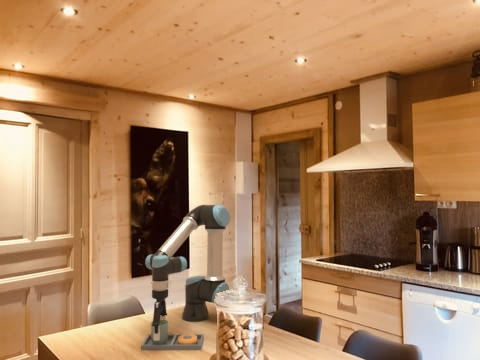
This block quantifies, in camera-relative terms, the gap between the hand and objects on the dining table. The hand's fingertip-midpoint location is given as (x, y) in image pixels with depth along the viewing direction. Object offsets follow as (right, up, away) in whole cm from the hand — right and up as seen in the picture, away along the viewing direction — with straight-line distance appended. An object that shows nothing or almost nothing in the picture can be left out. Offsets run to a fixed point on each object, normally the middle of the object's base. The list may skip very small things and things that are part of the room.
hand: (159, 334), depth 181 cm
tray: (+7, -5, 0) cm, 8 cm away
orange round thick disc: (+13, -4, 0) cm, 14 cm away
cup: (0, -4, 0) cm, 4 cm away
